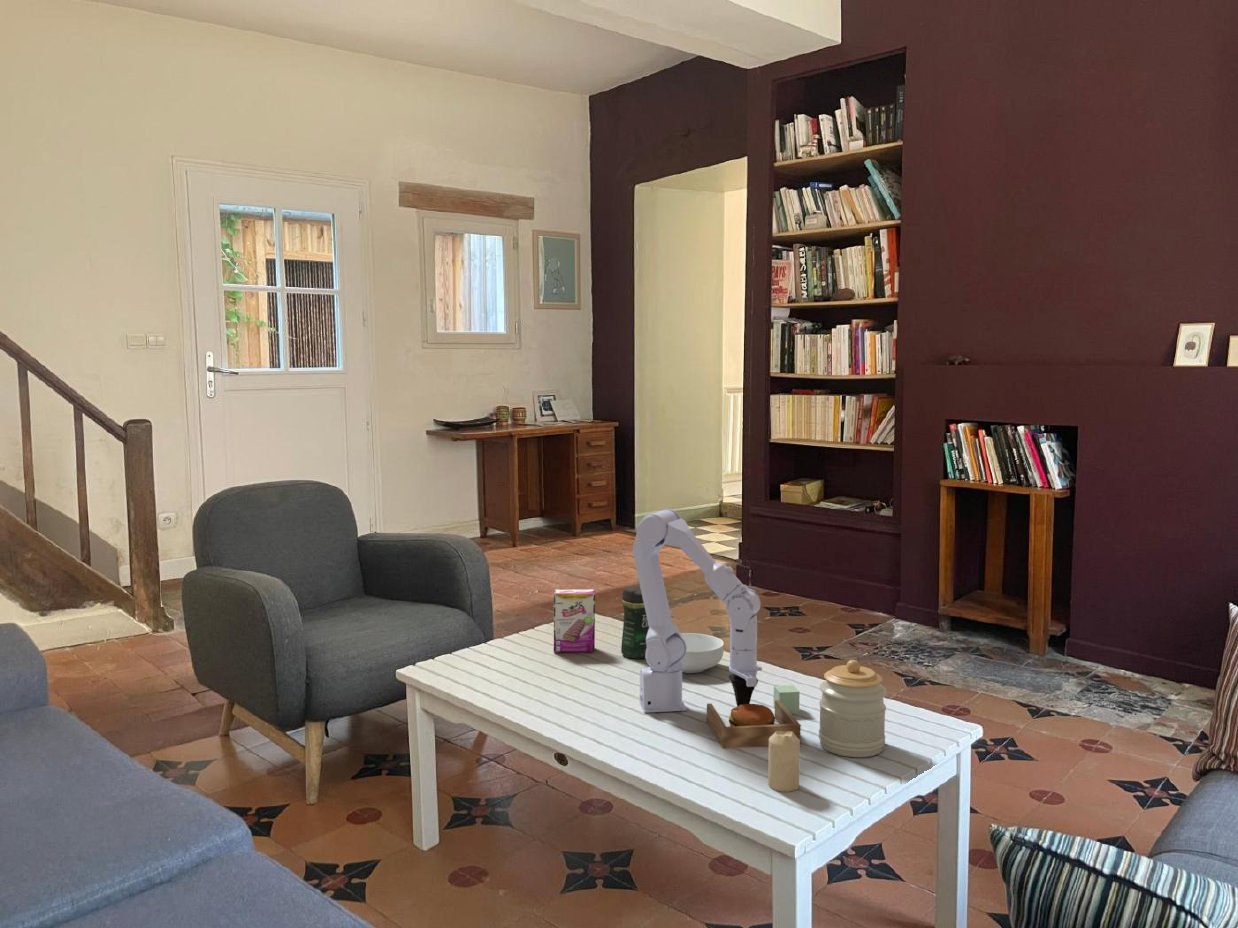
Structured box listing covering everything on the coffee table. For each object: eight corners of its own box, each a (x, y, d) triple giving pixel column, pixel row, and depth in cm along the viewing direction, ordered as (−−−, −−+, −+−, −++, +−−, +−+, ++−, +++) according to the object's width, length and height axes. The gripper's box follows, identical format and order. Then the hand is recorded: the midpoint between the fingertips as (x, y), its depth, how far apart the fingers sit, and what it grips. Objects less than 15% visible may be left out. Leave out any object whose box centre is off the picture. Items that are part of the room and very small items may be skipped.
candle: (795, 778, 174) (796, 726, 173) (802, 791, 169) (802, 737, 168) (765, 779, 174) (766, 726, 173) (771, 792, 169) (772, 738, 168)
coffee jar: (635, 661, 244) (635, 591, 243) (616, 654, 251) (616, 585, 249) (663, 654, 250) (663, 586, 249) (644, 647, 257) (644, 580, 255)
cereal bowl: (710, 682, 228) (710, 654, 227) (647, 673, 235) (647, 645, 234) (732, 663, 243) (733, 636, 242) (673, 655, 250) (673, 629, 250)
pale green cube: (779, 714, 207) (779, 692, 206) (773, 707, 211) (773, 685, 211) (799, 713, 207) (799, 691, 207) (792, 706, 212) (793, 684, 211)
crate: (722, 748, 188) (722, 728, 188) (706, 721, 203) (706, 703, 202) (800, 744, 190) (800, 724, 190) (779, 717, 205) (779, 700, 204)
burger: (783, 734, 196) (783, 712, 195) (744, 741, 192) (744, 718, 192) (758, 718, 205) (758, 697, 204) (720, 724, 201) (721, 703, 201)
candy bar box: (553, 653, 252) (553, 593, 250) (553, 648, 256) (553, 589, 255) (595, 652, 252) (595, 592, 251) (594, 647, 257) (594, 588, 256)
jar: (899, 750, 187) (901, 663, 185) (850, 763, 181) (852, 674, 179) (852, 728, 198) (854, 647, 197) (805, 740, 192) (806, 656, 190)
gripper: (771, 656, 196) (770, 719, 197) (752, 636, 210) (751, 696, 211) (738, 657, 195) (737, 721, 196) (721, 637, 209) (721, 697, 210)
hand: (742, 708), depth 204 cm, fingers closed
